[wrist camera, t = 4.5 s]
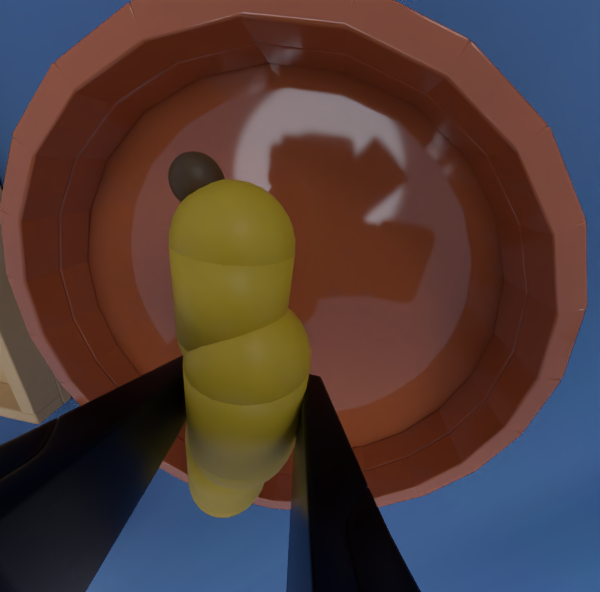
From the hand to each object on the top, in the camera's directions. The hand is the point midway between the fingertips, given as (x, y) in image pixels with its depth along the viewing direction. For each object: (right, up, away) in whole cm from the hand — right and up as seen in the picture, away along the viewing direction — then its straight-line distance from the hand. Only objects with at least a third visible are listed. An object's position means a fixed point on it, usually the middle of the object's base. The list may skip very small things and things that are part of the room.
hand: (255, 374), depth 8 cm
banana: (0, 0, +1) cm, 1 cm away
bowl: (+1, +2, +4) cm, 4 cm away
